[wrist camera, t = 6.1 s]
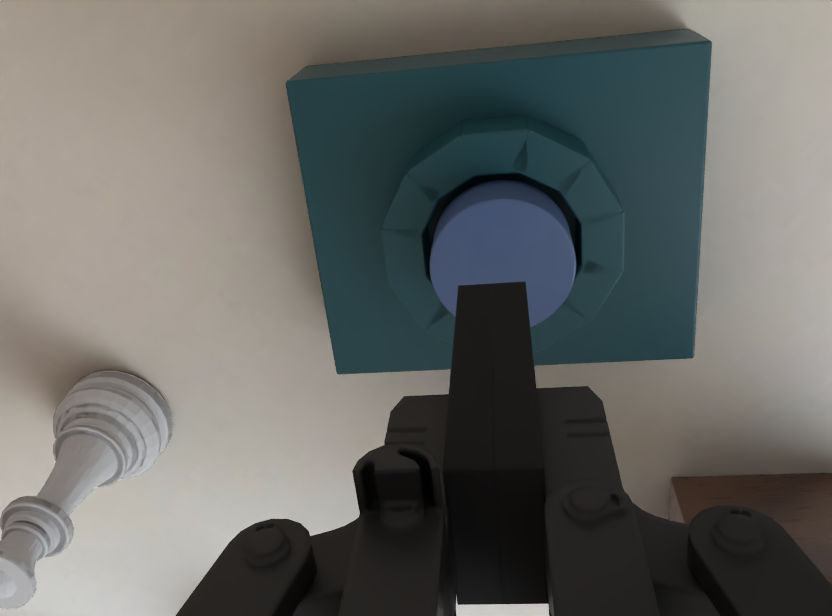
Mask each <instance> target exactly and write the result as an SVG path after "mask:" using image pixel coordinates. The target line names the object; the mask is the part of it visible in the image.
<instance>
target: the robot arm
mask: <svg viewBox="0 0 832 616" xmlns="http://www.w3.org/2000/svg"><path fill="white" fill-rule="evenodd" d="M353 477H354V482H355V488H356V494H357V499H358V505H359V510H360V515H359V517H358V518H357V519H356V520H354V521H353V522H351V523H349V524H347V525H346V526H343V527H340V528H338V529H335V530H332V531H328V532H324V533H321V534H317V535H313V536H310V535H309V531H308V530H307V529H306V528H305V527H304V526H303V525H302V524H301V523H298V522H295V521H292V520H289V519H270V520H266V521H262V522H258V523H255V524H253V525H251V526H250V527H248V528H246V529H244V530H242V531H241V532H240V533H239V534H238V535H237V536H236V537H235V538H234V539H232V540H231V541H230V542H229V544H228V545H227V547H226V548H225V549H224V551H223V552H222V553H221V555H220V556H219V557H218V559H217V560H216V562H215V563H214V564H213V566H212V567H211V568H210V570H209V571H208V572H207V574H206V575H205V577H204V578H203V579H202V581H201V582H200V583H199V585H198V586H197V587H196V589H195V590H194V591H193V593H192V594H191V596H190V597H189V598H188V600H187V601H186V602H185V604H184V605H183V606H182V608H181V609H180V611H179V612H178V613H177V615H176V616H456V593H457V602H458V605H461V604H547V603H549V616H832V584H831V583H830V582H829V581H828V580H827V579H826V577H825V576H824V575H823V574H822V573H821V572H820V570H819V569H818V568H817V567H816V566H815V564H814V563H813V562H812V561H811V560H810V559H809V557H808V556H807V555H806V554H805V553H804V552H803V550H802V549H801V548H800V547H799V546H798V545H797V543H796V542H795V541H794V540H793V539H792V537H791V536H790V535H789V534H788V533H787V532H786V530H785V529H784V528H783V527H782V526H781V525H779V524H778V523H777V522H776V521H775V520H773V519H772V518H771V517H770V516H768V515H766V514H764V513H761V512H759V511H757V510H755V509H752V508H748V507H743V506H738V505H717V506H712V507H710V508H707V509H704V510H702V511H700V512H699V513H698V514H697V515H696V516H695V517H694V518H693V519H692V520H691V522H690V524H685V523H680V522H675V521H670V520H666V519H663V518H660V517H656V516H653V515H651V514H649V513H647V512H645V511H643V510H642V509H640V508H639V507H637V506H636V505H635V504H633V503H632V501H631V500H630V498H629V496H628V494H627V493H625V492H624V489H623V487H622V483H621V479H620V475H619V470H618V466H617V462H616V457H615V453H614V449H613V445H612V440H611V436H610V432H609V428H608V423H607V421H606V415H605V410H604V406H603V402H602V400H601V399H600V398H599V397H598V396H597V395H596V394H595V393H594V392H593V391H592V390H591V389H590V388H589V387H588V386H582V387H560V388H538V389H536V381H535V371H534V361H533V351H532V341H531V331H530V321H529V311H528V301H527V291H526V281H523V282H507V283H491V284H475V285H459V286H458V294H457V306H456V317H455V329H454V341H453V353H452V365H451V376H450V388H449V394H446V395H424V396H404V397H403V398H402V399H401V401H400V402H399V403H398V404H397V405H396V406H395V407H394V409H393V410H392V411H391V413H390V418H389V423H388V428H387V433H386V438H385V445H384V446H381V447H379V448H377V449H374V450H372V451H369V452H368V453H367V454H366V455H364V456H363V457H362V458H361V459H359V460H358V462H357V463H356V465H355V467H354V469H353Z"/></svg>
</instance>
